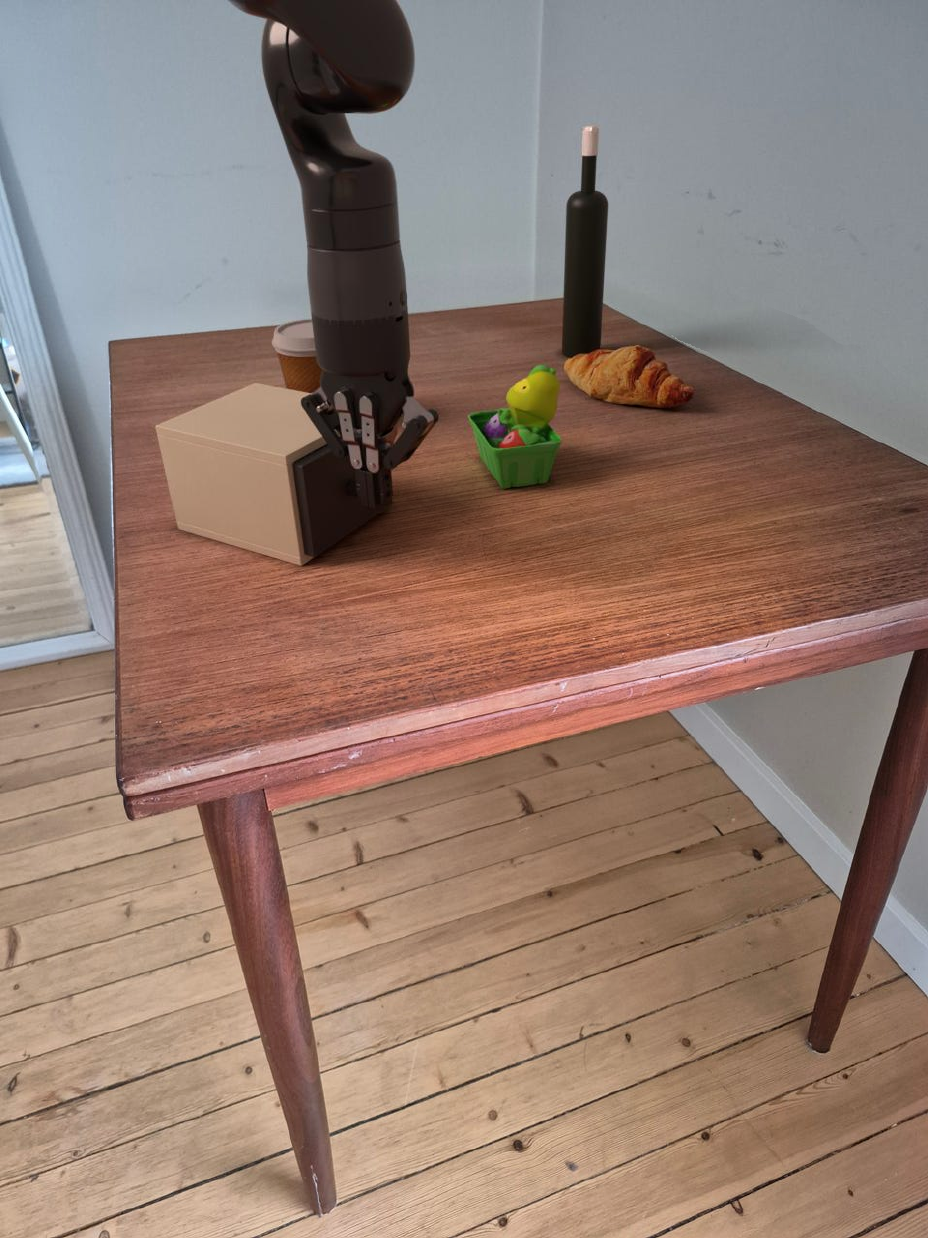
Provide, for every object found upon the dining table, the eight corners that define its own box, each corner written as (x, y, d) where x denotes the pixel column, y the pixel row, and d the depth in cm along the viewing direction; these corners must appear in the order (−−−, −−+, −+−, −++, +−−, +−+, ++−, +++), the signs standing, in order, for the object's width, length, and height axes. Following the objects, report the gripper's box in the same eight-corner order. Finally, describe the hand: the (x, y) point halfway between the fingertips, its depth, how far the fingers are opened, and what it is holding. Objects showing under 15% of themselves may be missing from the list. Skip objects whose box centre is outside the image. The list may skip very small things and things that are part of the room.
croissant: (550, 406, 126) (532, 361, 120) (593, 358, 128) (577, 312, 122) (676, 442, 112) (662, 394, 106) (721, 388, 115) (709, 338, 109)
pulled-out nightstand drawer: (403, 506, 90) (397, 421, 85) (325, 560, 81) (313, 469, 76) (282, 476, 97) (270, 396, 92) (197, 523, 88) (180, 437, 83)
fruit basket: (466, 455, 103) (464, 357, 97) (539, 446, 105) (542, 349, 99) (493, 496, 94) (492, 390, 88) (573, 485, 95) (578, 381, 89)
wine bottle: (559, 348, 137) (565, 125, 121) (596, 346, 138) (608, 123, 121) (564, 359, 132) (572, 128, 116) (603, 357, 133) (616, 127, 116)
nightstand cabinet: (387, 507, 92) (379, 406, 86) (301, 566, 82) (285, 456, 76) (270, 478, 99) (255, 382, 93) (177, 529, 89) (154, 425, 83)
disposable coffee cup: (270, 424, 113) (255, 327, 107) (334, 406, 118) (324, 313, 112) (308, 445, 107) (295, 344, 100) (375, 425, 112) (366, 328, 105)
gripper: (261, 305, 70) (290, 507, 79) (403, 325, 64) (416, 539, 74) (321, 285, 75) (341, 476, 85) (456, 301, 70) (462, 504, 79)
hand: (376, 505), depth 79 cm, fingers closed
